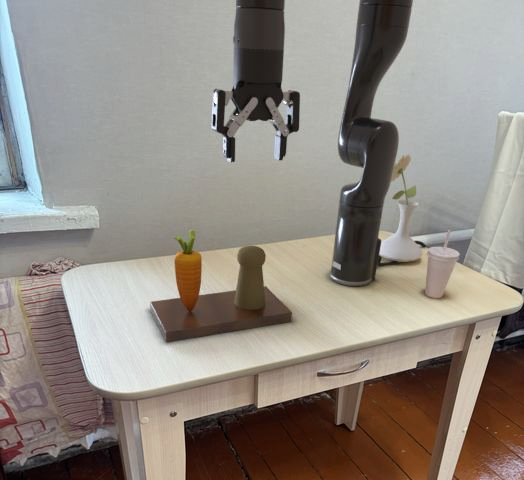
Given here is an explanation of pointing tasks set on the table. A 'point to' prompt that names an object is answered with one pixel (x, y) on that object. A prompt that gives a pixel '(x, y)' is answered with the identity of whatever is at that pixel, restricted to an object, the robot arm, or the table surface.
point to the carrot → (188, 272)
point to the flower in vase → (402, 223)
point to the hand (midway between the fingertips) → (255, 160)
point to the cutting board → (215, 315)
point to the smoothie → (439, 268)
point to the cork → (250, 278)
